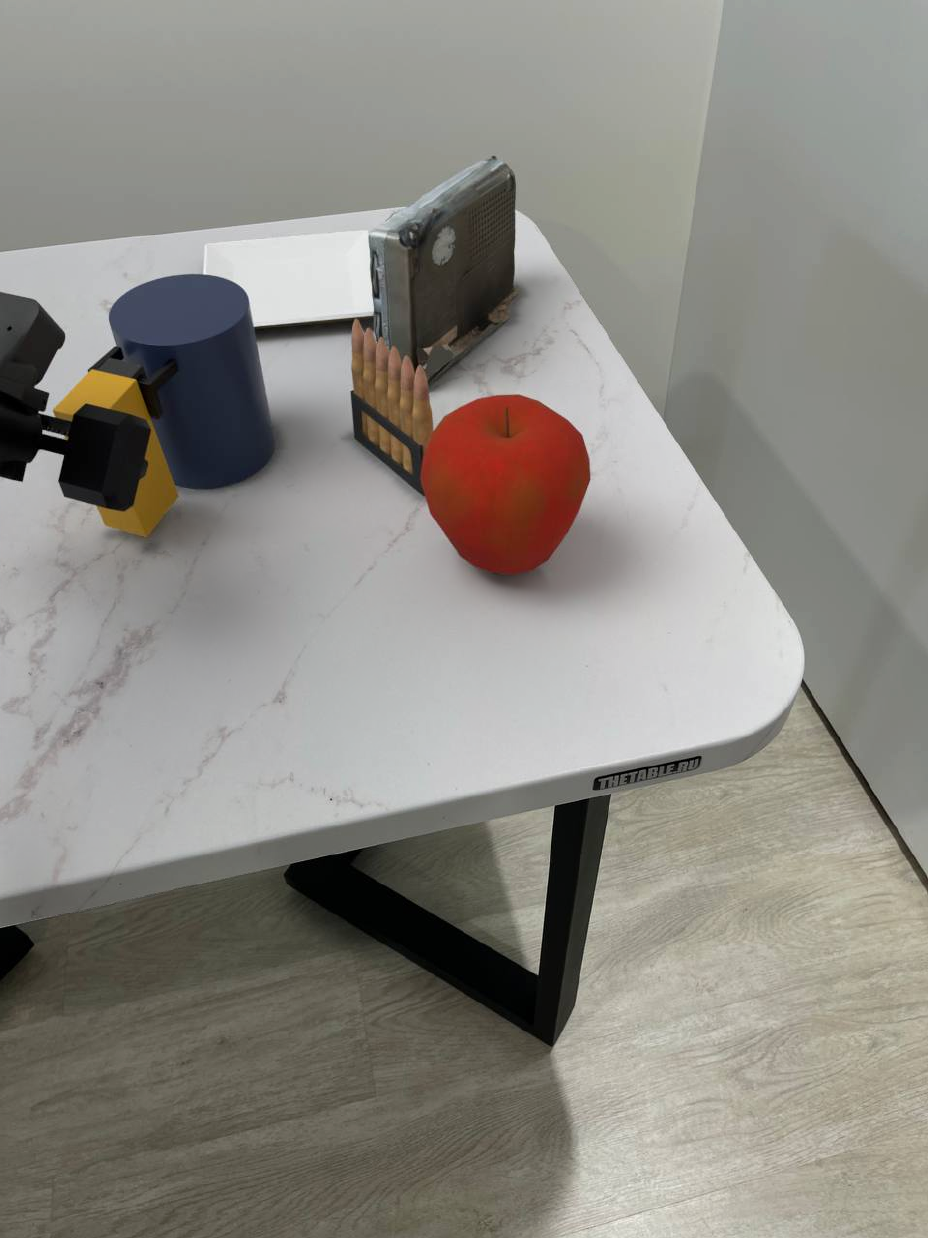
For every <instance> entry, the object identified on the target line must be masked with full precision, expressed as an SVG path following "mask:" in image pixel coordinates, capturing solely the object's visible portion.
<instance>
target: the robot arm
mask: <svg viewBox="0 0 928 1238" xmlns="http://www.w3.org/2000/svg"><path fill="white" fill-rule="evenodd" d="M65 341H66V332H65V331H64V330H63V328H61V326H60V325H59V324H58V323H57V321H55V320H54V319H53V317H52V316H51V315H50V314H49V313H48V312H47V310H46V309H45V308H44V307H43V306H42V304H40V302H39V301H38V300H36V299H34V298H31V297H26V296H21V295H18V294H17V295H16V294H12V293H7V292H2V291H0V478H3V479H8V480H11V481H15V482H21V483H24V482H23V481H24V478H25V474H26V469H27V465H28V464H30V463H32V462H33V461H34V459H35V458H36V457H37V454H38V452H39V451H40V450H42V451H45V452H48V453H49V452H50V453H54V454H56V455H61V456H63V459H62V461H61V467H60V471H59V475H58V478H57V479H58V480H57V483H58V485H59V488H60V490H61V492H62V495H63V498H67V499H70V500H74V501H77V502H81V503H85V504H88V505H93V506H95V507H97V506H99V507H103V508H107V509H112V510H117V511H123V512H125V511H126V510H128V509H129V508H131V507H132V506H133V505H134V501H135V497H136V493H137V488H138V484H139V480H140V479H142V478H143V477H145V475H146V472H147V468H148V461H147V460H146V459H145V455H146V450H147V446H148V442H149V438H150V434H151V428H150V426H149V424H148V422H147V420H146V419H143V418H140V417H137V416H135V415H132V414H128V413H124V412H120V411H116V410H112V409H108V408H104V407H100V406H95V405H91V404H87V403H85V404H84V405H83V406H82V407H81V408H80V409H79V410H78V411H77V412H75V413H74V414H73V419H72V421H68V420H64V419H60V418H56V417H55V416H52V415H49V414H48V415H47V414H44V412H46V410H47V406H48V401H49V397H50V392H48V391H45V390H42V389H39V388H36V386H37V385H38V384H40V383H41V382H42V380H43V379H44V377H45V376H46V373H47V372H48V370H49V368H50V366H51V364H52V362H53V360H54V359H55V356H56V354H57V352H58V350H61V349H62V348H63V346H64V344H65ZM41 412H42V413H41ZM44 431H45V432H48V433H52V434H57V435H60V436H64V435H65V436H68V440H66V439H65V438H61V437H57V436H53V435H50V434H45V433H43V432H44Z"/></svg>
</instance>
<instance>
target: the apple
mask: <svg viewBox="0 0 928 1238" xmlns="http://www.w3.org/2000/svg"><path fill="white" fill-rule="evenodd" d="M590 460H591V459H590V456H589V453H588V449H587V446H586V442H585V440H584V436H583V434H582V433H581V432H580V430H578V429H577V428H576V426H574V425H573V423H572V422H571V421H570V420H568V418H565V417H564V416H562V415H561V414H559V413H558V412H556V411H555V410H553V409H552V408H550V407H549V406H547V405H546V404H544V403H542V401H539V400H537V399H535V398H531V397H528V396H525V395H523V394H495V395H490V396H485V397H480V398H479V397H478V398H476V399H474V400H471V401H470V402H467V403H466V404H463V405H461V406H459V407H457V408H456V409H454V410H453V411H450V412H449V413H447V414H445V415H443V417H442V418H441V420H440V421H439V423H438V424H437V425H436V426H435V428H433V432H432V434H431V437H430V439H429V442H428V445H427V448H426V450H425V453H424V456H423V461H422V469H421V477H420V480H421V483H422V487H423V490H424V494H425V495H424V497H425V500H426V504H427V507H428V510H429V514H430V515H431V517H432V518H433V520H434V521H435V522H436V524H437V525H438V527H439V529H440V530H441V531H442V533H443V534H444V536H445V537H446V538H447V540H448V541H449V542H450V544H451V545H452V546H453V548H454V549H455V551H456V552H457V554H458V555H459V556H460V557H461V558H462V559H463V560H465V561H466V562H468V563H469V564H470V565H471V566H473V567H475V568H477V569H481V570H483V571H486V572H489V573H492V574H503V575H517V574H521V573H527V572H529V571H533V570H535V569H537V568H539V567H540V566H542V565H543V564H545V563H546V562H547V561H549V560H550V559H551V557H552V556H553V555H554V553H555V552H556V550H557V549H558V547H559V545H561V543H562V541H563V540H564V538H565V537H566V536H567V534H568V533H569V532H570V529H571V528H572V525H573V524H574V522H575V520H576V518H577V516H578V514H579V513H580V509H581V506H582V504H583V501H584V498H585V495H586V493H587V490H588V488H589V485H590V482H591V480H592V479H591V461H590Z"/></svg>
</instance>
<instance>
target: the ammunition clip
mask: <svg viewBox="0 0 928 1238" xmlns="http://www.w3.org/2000/svg"><path fill="white" fill-rule="evenodd" d="M350 335H351V338H350V339H351V341H350V343H351V365H350V368H351V377H352V388H353V389H352V390H350V392H349V393H350V404H351V417H352V428H353V429H352V430H353V438H354V439H355V440H356V441H357V442H359V444H360V445H362V446H363V447H364V448H365V449H367V451H369V452H370V453H371V454H372V455H374V456H375V457H376V458H377V459H378V460H380V461H381V462H382V463H383V464H384V465H386V466H387V467H388V468H389V469H390V470H391V471H393V472H394V473H395V474H396V475H398V476H399V477H400V478H401V479H402V480H403V481H404V482H406V483H407V484H408V485H409V486H410V487H412V488H413V489H414V490H415V491H416V492H417V493H419V494H420V495H421V496H425V494H424V490H423V487H422V483H421V480H420V477H421V469H422V461H423V456H424V453H425V450H426V448H427V445H428V442H429V439H430V437H431V434H432V432H433V431H434V416H433V408H432V405H431V398H430V391H429V389H430V388H429V385H428V382H427V377H426V374H425V371H424V369H423V367H422V366H421V365H419V366H418V367H417V370H416V373H414V368H413V365H412V362H411V360H410V358H409V356H408V355H406V356H405V357H404V360H403V363H401V358H400V355H399V353H398V350H397V349H396V347H395V346H393V347H392V348H391V351H390V355H389V351H388V348H387V345H386V342H385V340H384V339H383V337H380V338H379V340H378V343H377V341H376V336H375V334H374V333H373V331H372V329H371V327H366V331H365V332H364V330H363V327H362V324H361V323H360V320H359V319H355V320H353V323H352V329H351V334H350Z"/></svg>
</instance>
